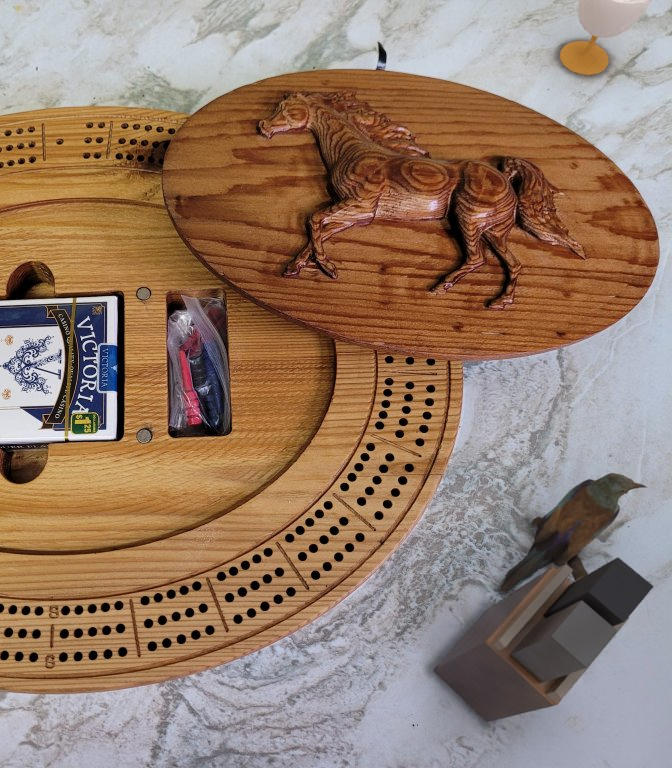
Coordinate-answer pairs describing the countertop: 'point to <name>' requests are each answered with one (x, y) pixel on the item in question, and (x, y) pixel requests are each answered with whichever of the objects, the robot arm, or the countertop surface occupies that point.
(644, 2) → the cup
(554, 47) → the countertop surface
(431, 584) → the countertop surface
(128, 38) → the countertop surface
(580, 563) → the bird figurine
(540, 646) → the pad mount
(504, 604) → the pedestal
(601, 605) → the back pad
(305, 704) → the countertop surface
